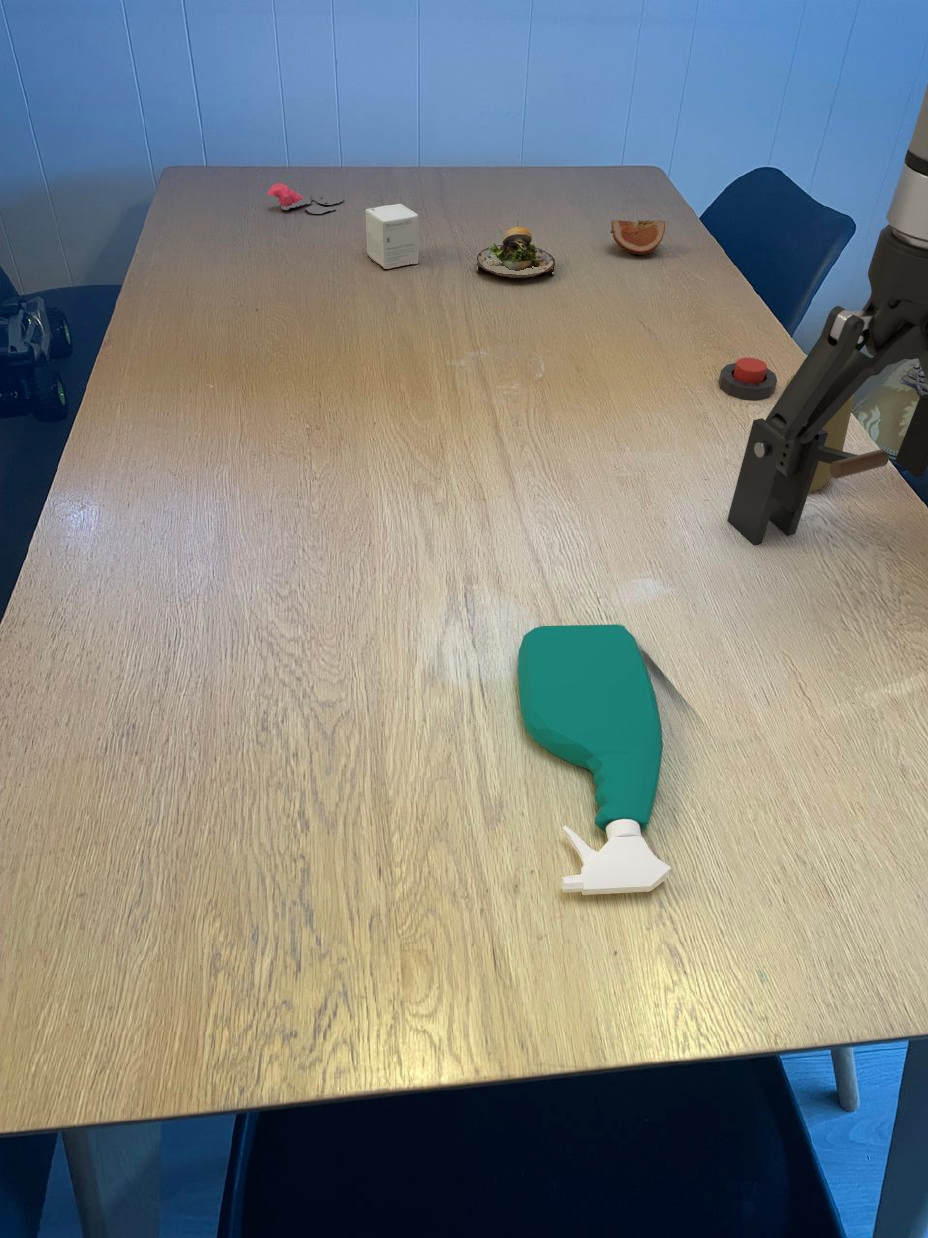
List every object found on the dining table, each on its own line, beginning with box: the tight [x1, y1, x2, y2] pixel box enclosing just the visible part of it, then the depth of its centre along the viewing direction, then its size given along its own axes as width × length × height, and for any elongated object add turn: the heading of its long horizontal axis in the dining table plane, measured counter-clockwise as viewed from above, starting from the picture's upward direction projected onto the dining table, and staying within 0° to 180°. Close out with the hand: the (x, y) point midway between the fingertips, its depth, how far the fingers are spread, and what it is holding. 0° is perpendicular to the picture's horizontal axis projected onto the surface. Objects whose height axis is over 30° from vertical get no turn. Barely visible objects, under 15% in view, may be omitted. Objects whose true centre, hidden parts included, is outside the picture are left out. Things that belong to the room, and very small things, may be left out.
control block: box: [718, 362, 778, 402], centre depth 112 cm, size 10×7×3 cm
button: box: [733, 357, 768, 384], centre depth 112 cm, size 4×4×2 cm
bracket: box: [726, 417, 828, 547], centre depth 89 cm, size 9×7×13 cm
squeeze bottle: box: [782, 354, 856, 493], centre depth 94 cm, size 8×8×18 cm
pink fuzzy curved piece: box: [266, 182, 304, 207], centre depth 159 cm, size 12×11×4 cm
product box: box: [365, 203, 420, 266], centre depth 141 cm, size 6×6×7 cm
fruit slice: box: [610, 219, 666, 256], centre depth 146 cm, size 8×7×5 cm
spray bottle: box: [517, 623, 672, 896], centre depth 71 cm, size 3×11×24 cm
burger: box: [476, 213, 556, 279], centre depth 139 cm, size 12×12×8 cm
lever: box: [814, 445, 889, 479], centre depth 82 cm, size 11×5×2 cm, turn 24°
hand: (847, 485), depth 80 cm, fingers open, 13 cm apart
